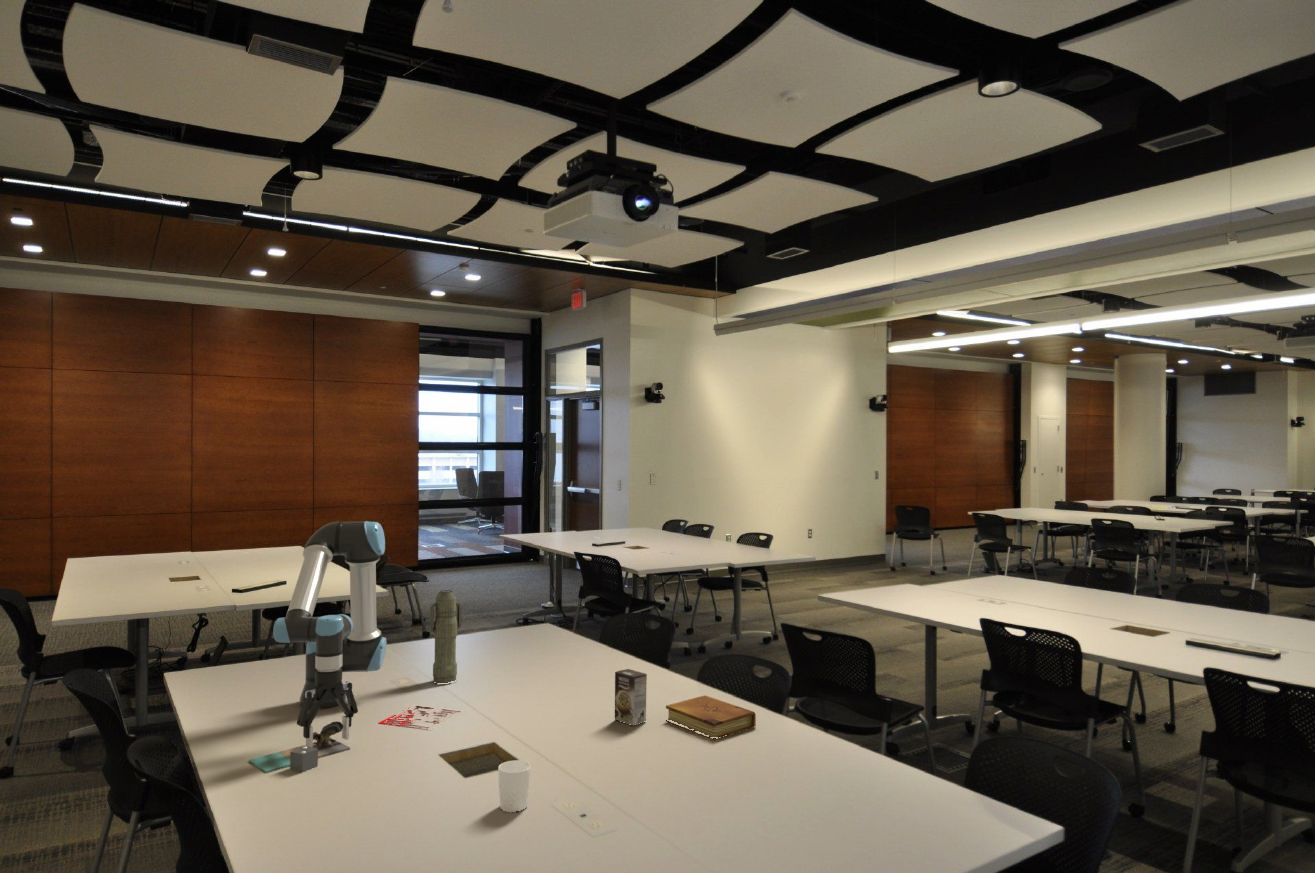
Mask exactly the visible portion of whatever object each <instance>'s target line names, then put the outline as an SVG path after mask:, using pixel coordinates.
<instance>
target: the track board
mask: <svg viewBox="0 0 1315 873" xmlns="http://www.w3.org/2000/svg"><path fill="white" fill-rule="evenodd" d="M330 741H331V742H332V746H331V745H329V744H326V743H323V742H322V744H321V747H320V748H319V749H318V759H320V757H321V758H324V757H327V756H331V755H335V754H338V753H341V752H345V750H346V751H349V750H351V747H349V746H348V745H346V744H344V743H341V742H340V741H337V739H334V740H330ZM315 742H316V743H317V741H315ZM304 746H306V744H304V745H300V746H296V747H292V748H288V749H285V750H281V751H277V752H273V753H269V754H266V755H261V756H258V757H255V758H250V759H248V763H250V762H251V764H252V763H253V764H254V766H255V767H257V768H258V769H260V770H261V769H262V770H261V771H263V770H264V771H265V772H264V771H263V772H264V773H266V772H268V773H271V772H274V771H273V770H275V771H278V770H281V769H280V768H282V769H285V768H288V767H287V766H289V767H290V752H291V751H293V750H296V749H298V748H301V747H304ZM313 748H317V744H313ZM253 764H252V765H253ZM284 767H285V768H284ZM277 769H278V770H277ZM270 771H271V772H270Z"/></svg>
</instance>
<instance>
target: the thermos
mask: <svg viewBox="0 0 1315 873" xmlns="http://www.w3.org/2000/svg"><path fill="white" fill-rule="evenodd" d="M455 594H456V593H455V591H453V590H451V589H450V590H449V589H445V590H444V589H443V590H440V591H438V592H437V594H436V597H435V603H432V605H431V606H430V609H429V630H430V632H433V638H434V662H433V665H432V677H433V681H434V682H436V683H448V682H451V681H455V680H456V681H457V675H458V663H457V660H456V659H457V657H456V656H457V655H456V654H457V653H456V652H457V650H456V648H457V642H456V641H457V637H458V630H459V629H460V628H461V627H462V606H461V604H460V603H459V602H458V601H457V598H456V595H455ZM434 609H435V614H434ZM456 612H457V615H456ZM434 616H435V617H434Z"/></svg>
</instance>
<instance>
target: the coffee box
mask: <svg viewBox="0 0 1315 873" xmlns="http://www.w3.org/2000/svg"><path fill="white" fill-rule="evenodd" d="M647 680H648V678H647V673H644V672H641V671H637V670H633V669H630V668H626V669H622V670H621V669H620V670H618V671H617V670H616V671H615V672H614V721H615V720H619V721H621V722H625V723H627V724H631V725H635V724H639V723H641V722H644V721H646V722H647V684H648V683H647ZM621 722H620V723H621ZM627 724H626V725H627Z"/></svg>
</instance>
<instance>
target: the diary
mask: <svg viewBox="0 0 1315 873" xmlns="http://www.w3.org/2000/svg"><path fill="white" fill-rule="evenodd" d="M665 709H666V710H668V719H669V720H672V721H674V722H677V723H678V724H682V725H684V726H687V727H688V728H689V729H694V730H693V731H699V732H701V733H704V734H705V735H709V737H718V738H719V737H723V736H725V735H729V736H731V735H730V734H732V733H735V734H737V733H736V732H739V731H742V732H744V731H743V730H745V729H748V730H750V729H749V728H751V729H753V728H752V727H754V726H755V727H756V726H757V725H756V722H757V718H756V717H757V716H756V713H755V711H753V710H750V709H747V708H743V707H740V706H738V705H735V704H732V703H730V702H726V701H723V700H720V699H717V698H714V697H711V696H708V695H706V694H705V695H704V694H703V695H701V696H698V697H694V698H690V699H685V700H682V701H678V702H674V703H672V704H667V705H665ZM745 731H746V730H745ZM739 733H740V732H739ZM732 735H733V734H732ZM723 738H724V737H723ZM713 739H716V738H713ZM713 739H712V740H713ZM716 740H717V739H716Z"/></svg>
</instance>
